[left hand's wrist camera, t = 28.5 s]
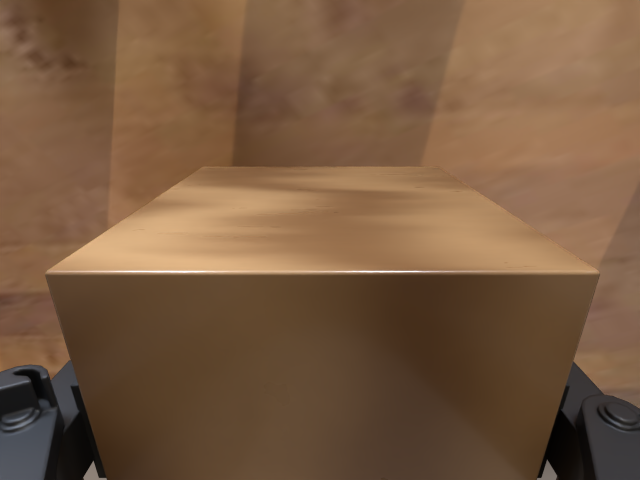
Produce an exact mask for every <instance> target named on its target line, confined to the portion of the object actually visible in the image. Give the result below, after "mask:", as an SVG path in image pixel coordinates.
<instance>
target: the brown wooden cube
mask: <svg viewBox="0 0 640 480" xmlns="http://www.w3.org/2000/svg"><path fill="white" fill-rule="evenodd" d="M45 276H46V279H47V283H48V286H49V289H50V293H51V296H52V299H53V303H54V306H55V309H56V313H57V316H58V319H59V322H60V326H61V329H62V332H63V336H64V339H65V342H66V346H67V349H68V352H69V356H70V359H71V362H72V365H73V369H74V372H75V375H76V379H77V382H78V385H79V389H80V392H81V395H82V399H83V402H84V405H85V408H86V412H87V415H88V418H89V422H90V425H91V428H92V432H93V435H94V438H95V442H96V445H97V448H98V451H99V455H100V458H101V461H102V465H103V468H104V471H105V475H106V478H107V480H537V477H538V474H539V470H540V467H541V464H542V461H543V457H544V454H545V451H546V448H547V444H548V441H549V438H550V435H551V431H552V428H553V425H554V422H555V418H556V415H557V412H558V409H559V406H560V402H561V399H562V396H563V393H564V389H565V386H566V383H567V380H568V376H569V373H570V370H571V367H572V363H573V360H574V357H575V354H576V350H577V347H578V344H579V341H580V337H581V334H582V331H583V328H584V324H585V321H586V318H587V315H588V311H589V308H590V305H591V302H592V298H593V295H594V292H595V289H596V285H597V282H598V279H599V276H600V272H599V271H598V270H596V269H595V268H593V267H592V266H590V265H589V264H587V263H586V262H584V261H583V260H581V259H580V258H578V257H577V256H575V255H573V254H572V253H570V252H569V251H567V250H566V249H564V248H563V247H561V246H560V245H558V244H557V243H555V242H554V241H552V240H550V239H549V238H547V237H546V236H544V235H543V234H541V233H540V232H538V231H537V230H535V229H534V228H532V227H531V226H529V225H527V224H526V223H524V222H523V221H521V220H520V219H518V218H517V217H515V216H514V215H512V214H511V213H509V212H508V211H506V210H505V209H503V208H501V207H500V206H498V205H497V204H495V203H494V202H492V201H491V200H489V199H488V198H486V197H485V196H483V195H482V194H480V193H478V192H477V191H475V190H474V189H472V188H471V187H469V186H468V185H466V184H465V183H463V182H462V181H460V180H459V179H457V178H455V177H454V176H452V175H451V174H449V173H448V172H446V171H445V170H443V169H442V168H440V167H201V168H200V169H198V170H197V171H195V172H194V173H192V174H191V175H189V176H188V177H187V178H185V179H184V180H182V181H181V182H179V183H178V184H176V185H175V186H173V187H172V188H170V189H169V190H167V191H166V192H164V193H163V194H161V195H160V196H158V197H157V198H155V199H154V200H152V201H151V202H149V203H148V204H146V205H145V206H143V207H142V208H140V209H139V210H137V211H136V212H134V213H133V214H131V215H130V216H128V217H127V218H125V219H124V220H122V221H121V222H119V223H118V224H116V225H115V226H113V227H112V228H110V229H109V230H107V231H106V232H104V233H103V234H101V235H100V236H98V237H97V238H95V239H94V240H92V241H91V242H89V243H88V244H86V245H85V246H83V247H82V248H80V249H79V250H77V251H76V252H74V253H73V254H71V255H70V256H68V257H67V258H65V259H64V260H62V261H61V262H59V263H58V264H56V265H55V266H53V267H52V268H50V269H49V270H47V271H46V273H45Z"/></svg>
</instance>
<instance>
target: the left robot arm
mask: <svg viewBox="0 0 640 480" xmlns="http://www.w3.org/2000/svg"><path fill="white" fill-rule="evenodd" d="M93 460H94V463H95V467H96V470H97V473H98V476H99V478H106V475H105V471H104V468H103V465H102V461H101V458H100V455H99V451H98V448H97V445H96V442H95V438H94V435H93V432H92V428H91V425H90V422H89V418H88V415H87V412H86V408H85V405H84V402H83V399H82V395H81V392H80V389H79V385H78V382H77V379H76V375H75V372H74V369H73V365H72V362H71V360H69V361H68V362H67V363H66V365H65V366H64V367H63V368H62V369H61V370H60V371H59V372H58V373H57V374H56V375H55V376H54V378H53V379H52V380H50V377H49V374H48V371H47V370H46V369H45V368H43V367H42V366H38V365H24V366H18V367H14V368H11V369H8V370H5V371H2V372H0V480H84V479H83V477H84V475H85V473H86V472H87V470H88V469H89V467H90V465H91V464H92V462H93ZM547 460H548V461H549V463H550V465H551V466H552V468H553V469H554V471H555V473H556V474H557V479H556V480H640V409H639V408H638V407H636V406H634V405H632V404H631V403H629V402H627V401H624V400H622V399H619V398H616V397H614V396H609V395H604V394H603V393H602V392H601V391H600V389H599V388H598V387H597V386H596V385H595V384H594V383H593V382H592V381H591V380H590V379H589V378H588V377H587V375H586V374H585V373H584V372H583V371H582V370H581V369H580V368H579V367H578V366H577V365H576V364H575V363H574V361H573V363H572V367H571V370H570V373H569V376H568V380H567V383H566V386H565V389H564V393H563V396H562V399H561V402H560V406H559V409H558V412H557V415H556V418H555V422H554V425H553V428H552V431H551V435H550V438H549V441H548V444H547V448H546V451H545V454H544V457H543V461H542V464H541V467H540V470H539V474H538V477H537V478H541V477H542V474H543V471H544V468H545V464H546V461H547Z"/></svg>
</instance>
